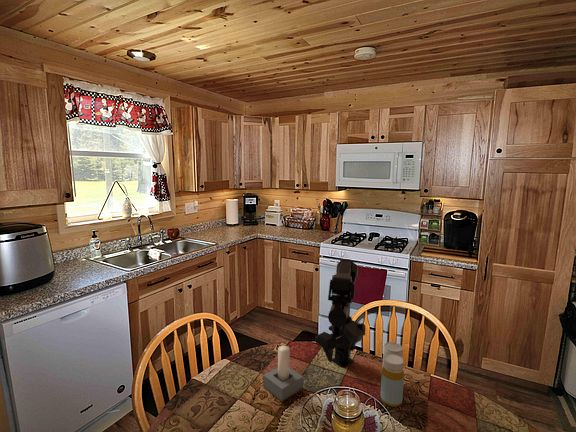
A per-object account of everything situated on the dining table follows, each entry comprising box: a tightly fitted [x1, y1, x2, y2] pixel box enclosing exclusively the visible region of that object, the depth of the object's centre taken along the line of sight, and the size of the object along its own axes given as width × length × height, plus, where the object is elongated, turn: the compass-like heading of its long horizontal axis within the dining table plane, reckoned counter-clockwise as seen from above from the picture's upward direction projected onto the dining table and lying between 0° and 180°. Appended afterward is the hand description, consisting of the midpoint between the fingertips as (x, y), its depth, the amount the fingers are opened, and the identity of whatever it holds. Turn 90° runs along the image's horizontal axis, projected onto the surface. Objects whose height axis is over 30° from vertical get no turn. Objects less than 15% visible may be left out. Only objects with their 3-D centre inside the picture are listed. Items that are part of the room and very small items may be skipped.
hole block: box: [262, 366, 304, 402], centre depth 112 cm, size 10×10×5 cm
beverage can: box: [381, 341, 404, 370], centre depth 114 cm, size 6×6×15 cm
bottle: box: [380, 354, 405, 408], centre depth 106 cm, size 7×7×15 cm
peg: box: [277, 345, 291, 382], centre depth 112 cm, size 4×4×14 cm
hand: (338, 356), depth 110 cm, fingers open, 9 cm apart
